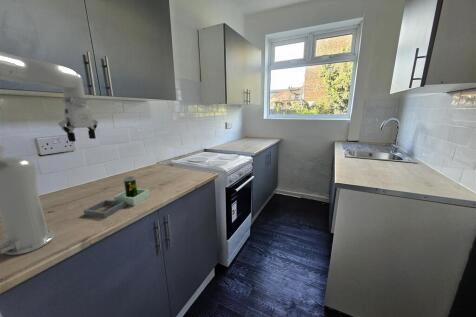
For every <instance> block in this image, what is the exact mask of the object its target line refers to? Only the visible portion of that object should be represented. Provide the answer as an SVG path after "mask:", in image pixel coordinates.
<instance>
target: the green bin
mask: <svg viewBox="0 0 476 317" xmlns="http://www.w3.org/2000/svg"><path fill="white" fill-rule="evenodd" d="M137 194H138V195H137V196H135V197H134V198H131V197H126V192H125V190H124V191H122V192H120V193H118V194H116V195H114V196H113V200H114V201H122V202H125V206H133V207H135V206H136V205H138V204H140V203H141V202H143V201H145V200H147V199H148V198H150V196H151V195H150V190H149V189H145V188H144V189H143V188H137Z"/></svg>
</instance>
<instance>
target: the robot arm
mask: <svg viewBox="0 0 476 317" xmlns="http://www.w3.org/2000/svg"><path fill="white" fill-rule="evenodd" d="M0 80H2V81H5V82H6V81H7V82H13V83H20V84H21V83H22V84H38V85H41V86H42V87H44V88H46V89H51V90H56V89H57V90H58V89H59V90H62V94H63V99H61V100H62V102H63V103H65V105H64V106H63V113H64V114H63V115H64V119H63V120H61V121H58V126H59V127H60V128H61V130H62V131H64V132H65V133H66V136H67V140H68V142H76V135H75V134H76V133H75V132H74V130H75V129H82V128H87V129H88V130H87V131H88V132H87V133H88V138H89V139H91V140H92V139H93V140H94V139H96V138H97V137H96V132H95V131H96V130H97V127H98V124H99V121H98V120H96V119H94V117H93V114H92V111H91V108H90V106H89V105H88V104H87V99H86V93H85V88H84V83H83V76H81V75H80V74H79V73H78V72H76V71H75V70H73V69H71V68H69V67H66V66H64V65H61V64H57V63H52V62H48V61H43V60H38V59H34V58H29V57H22V56H18V55H14V54H10V53H7V52H3V51H0ZM4 154H5V150H4V146H3V145H2V144H1V143H0V217H1V221H2V225H3V227H4V231H5V233H6V238H5V239H3V242H2V243H1V244H0V254H1V255H3V254H5V255H9V256H17V255H23V254H27V253H30V252H33V251H35V250H37V249H40V248H43V247H44V246H47V244H49V243H51V242H52V241H53V239H54V238H55V236H56V233H55V232H54V231H53V230H48V226H47V223H46V218H45V214H44V211H43V210H44V209H43V207H42V202H41V199H40V195H39V192H38V186H37V184H38V183H37V176H38V174H37V173H38V172H37V171H38V170H37V167H36V165H35V164H34V163H33V162H32V161H30V160H28V159H25V158H22V157H16V156H15V157H12V156H5V157H3V156H4Z"/></svg>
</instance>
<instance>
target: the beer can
mask: <svg viewBox="0 0 476 317" xmlns="http://www.w3.org/2000/svg"><path fill="white" fill-rule="evenodd" d="M123 179H124V180H123V182H124V183H123V185H124V191H125V192H126V197H131V198H134V197H135V196H137V195H138V194H137V189H138V187H137V181H136V176H132V175H131V176H126V177H124V178H123Z"/></svg>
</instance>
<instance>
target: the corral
mask: <svg viewBox="0 0 476 317" xmlns="http://www.w3.org/2000/svg"><path fill="white" fill-rule="evenodd" d="M105 206H112V207H111V208H109V209H107V210H105V211H98V210H99V209H102V208H103V207H105ZM125 207H126V205H125V202H122V201H115V199H113V200H111V199H103V200H102V201H100V202H97V203H95V204H93V205H92V206H90V207H89V206H88V207H87V208H85V209H83V214H84V216H87V217H93V218H94V217H95V218H102V219H106V218H108V217H110V216H111V215H113V214H115V213H117V212H119V211H121V209H124V208H125Z"/></svg>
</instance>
